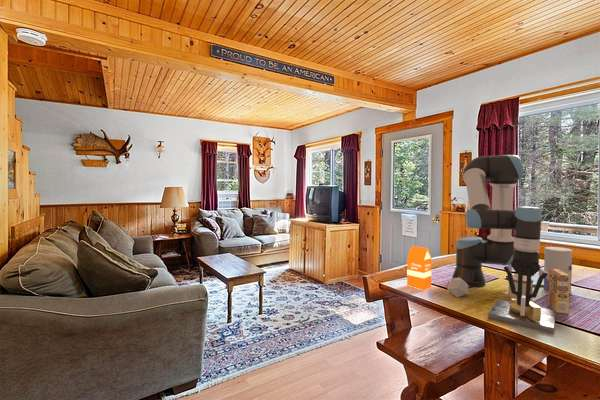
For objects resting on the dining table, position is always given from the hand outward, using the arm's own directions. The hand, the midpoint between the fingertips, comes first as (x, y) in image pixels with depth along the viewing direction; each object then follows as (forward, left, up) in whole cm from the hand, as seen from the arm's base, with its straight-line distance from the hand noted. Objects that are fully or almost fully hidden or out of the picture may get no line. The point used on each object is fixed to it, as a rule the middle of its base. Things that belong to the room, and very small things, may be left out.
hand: (522, 314), depth 111 cm
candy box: (+9, +25, -4) cm, 27 cm away
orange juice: (-44, +18, -4) cm, 47 cm away
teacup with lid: (-4, +32, -4) cm, 32 cm away
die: (-26, +17, -4) cm, 31 cm away
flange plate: (-1, +7, -3) cm, 8 cm away
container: (+8, +54, -4) cm, 55 cm away
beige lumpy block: (+1, +5, -1) cm, 5 cm away
